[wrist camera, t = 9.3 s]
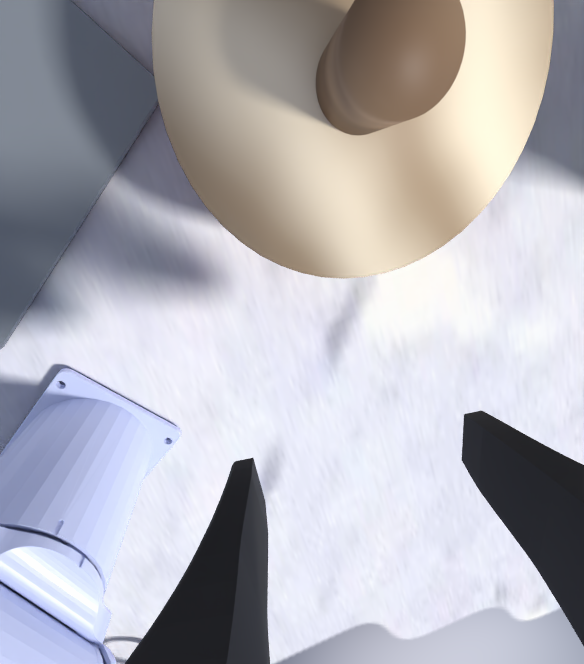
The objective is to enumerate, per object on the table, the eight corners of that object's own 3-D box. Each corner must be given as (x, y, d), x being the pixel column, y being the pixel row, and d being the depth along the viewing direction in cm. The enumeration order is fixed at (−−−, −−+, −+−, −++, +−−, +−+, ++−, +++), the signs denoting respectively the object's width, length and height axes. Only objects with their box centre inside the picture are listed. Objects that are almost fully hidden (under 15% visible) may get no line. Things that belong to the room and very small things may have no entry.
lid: (359, 330, 16) (395, 380, 12) (80, 113, 12) (-4, 82, 8) (602, 65, 13) (757, 17, 9) (344, -369, 8) (428, -839, 5)
